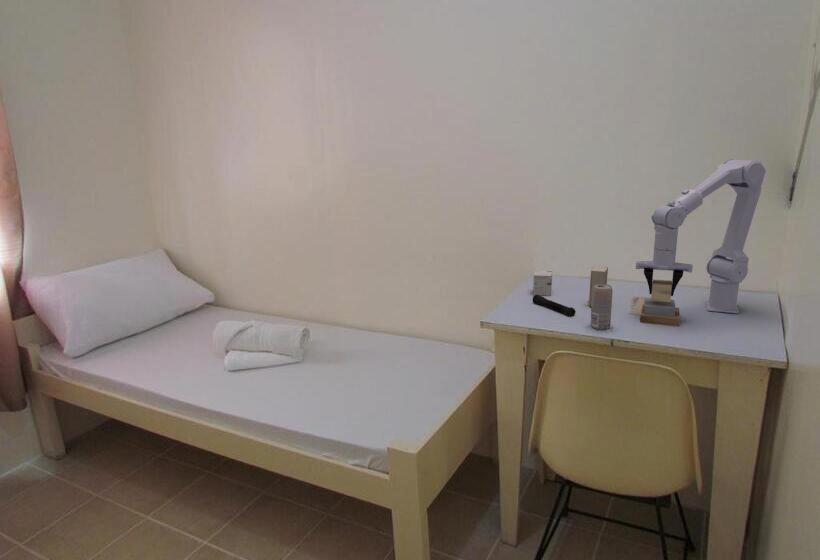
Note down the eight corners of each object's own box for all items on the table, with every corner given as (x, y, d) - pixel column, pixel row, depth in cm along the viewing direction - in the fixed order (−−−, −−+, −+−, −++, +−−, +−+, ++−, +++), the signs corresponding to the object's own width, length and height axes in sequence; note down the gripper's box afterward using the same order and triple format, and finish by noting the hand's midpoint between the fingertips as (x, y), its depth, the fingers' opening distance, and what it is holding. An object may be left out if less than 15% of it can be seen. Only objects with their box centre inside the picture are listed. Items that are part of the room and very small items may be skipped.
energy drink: (605, 322, 152) (608, 283, 148) (613, 329, 147) (615, 288, 143) (587, 323, 152) (589, 284, 148) (594, 330, 147) (596, 289, 143)
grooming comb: (630, 297, 173) (630, 294, 173) (663, 301, 168) (664, 298, 168) (620, 314, 158) (620, 312, 158) (656, 320, 153) (656, 317, 153)
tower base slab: (642, 312, 159) (642, 304, 159) (678, 315, 155) (679, 307, 154) (640, 323, 151) (640, 315, 150) (678, 327, 146) (679, 319, 146)
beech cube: (651, 295, 154) (652, 279, 153) (670, 296, 152) (671, 280, 151) (651, 300, 150) (652, 284, 149) (670, 302, 148) (671, 285, 147)
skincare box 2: (592, 300, 170) (593, 265, 167) (606, 302, 168) (608, 266, 165) (588, 306, 165) (590, 270, 162) (603, 308, 163) (605, 271, 160)
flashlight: (539, 302, 173) (539, 293, 172) (575, 316, 159) (576, 307, 158) (532, 303, 172) (532, 295, 171) (568, 318, 157) (568, 309, 157)
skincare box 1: (532, 295, 179) (533, 274, 177) (534, 290, 185) (534, 270, 183) (551, 296, 177) (551, 275, 175) (551, 290, 183) (552, 270, 181)
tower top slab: (644, 305, 158) (644, 297, 157) (673, 307, 155) (674, 299, 154) (644, 314, 151) (644, 305, 150) (674, 316, 148) (675, 308, 147)
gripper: (636, 250, 147) (633, 295, 151) (694, 253, 141) (689, 300, 144) (637, 244, 153) (634, 288, 157) (693, 247, 147) (689, 293, 150)
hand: (661, 294), depth 151 cm, fingers closed on beech cube, 5 cm apart
